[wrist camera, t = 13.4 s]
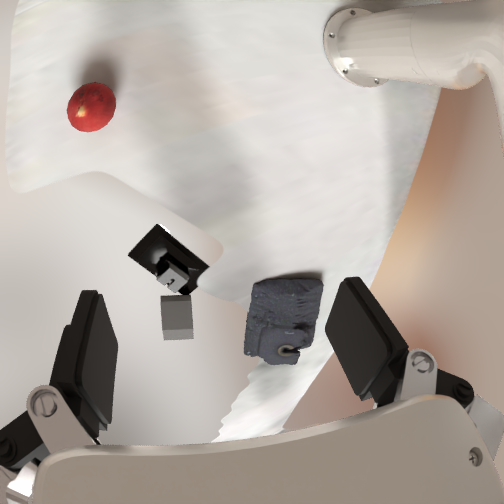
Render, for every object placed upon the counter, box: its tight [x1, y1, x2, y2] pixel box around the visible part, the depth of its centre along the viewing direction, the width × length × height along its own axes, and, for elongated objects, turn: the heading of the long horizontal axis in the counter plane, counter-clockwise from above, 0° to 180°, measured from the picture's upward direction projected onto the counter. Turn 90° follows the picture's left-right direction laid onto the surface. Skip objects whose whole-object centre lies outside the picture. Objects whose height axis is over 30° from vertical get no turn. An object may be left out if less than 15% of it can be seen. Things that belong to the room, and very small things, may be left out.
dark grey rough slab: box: [244, 279, 324, 365], centre depth 55 cm, size 15×22×5 cm
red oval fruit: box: [67, 82, 116, 132], centre depth 26 cm, size 6×6×8 cm
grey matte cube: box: [161, 295, 193, 340], centre depth 47 cm, size 5×6×5 cm
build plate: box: [128, 224, 210, 295], centre depth 42 cm, size 12×7×5 cm, turn 39°
